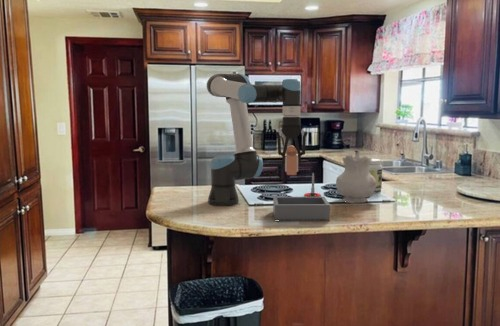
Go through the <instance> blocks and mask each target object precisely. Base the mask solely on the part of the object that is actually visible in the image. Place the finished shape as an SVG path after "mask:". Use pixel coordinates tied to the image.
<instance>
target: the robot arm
mask: <svg viewBox="0 0 500 326" xmlns="http://www.w3.org/2000/svg"><path fill="white" fill-rule="evenodd" d="M251 82H252V81H251V80H250V77H248V76H247V75H246V74H241V73H216V74H213V75H211V76H210V77H209V78H208V80H207V82H206V90H207V92H208V93H209V94H210V95H211V96H214V97H216V98H225V101H226V103H227V104H228V105H229V109H230V110H229V111H230V116H231V123H232V131H233V136H234V138H233V139H234V144H235V151H234V153H233V154H232V153H227V154H220V155H216V156H214V157H212V159H211V161H210V181H211V183H210V184H211V185H210V186H211V188H210V191H209V194H208V198H207V203H208V204H209V205H211V206H217V207H227V206H233V205H237V204H239V201H240V199H239V194H238V192H237V189H236V181H239V180H240V181H241V180H251V179H255V178H258V177H259V176H260V175H261V174H262V172H263V168H264V163H263V162H264V161H263V158H262V156H261V155H259V154H258V153H257V150H256V149H255V148H254V146H253V141H252V140H253V139H252V132H251V126H250V125H251V124H250V118H249V112H248V111H249V110H248V105H247V104H255V103H257V104H258V103H262V104H263V103H275V104H277V103H282V116H283V117H282V127H281V129H280V130H279V131H276V132H275V135H276V136H277V138H276V139H277V154H278V155H279V156H281V157H282V158H281V159H282V160H281V161H282V164H283V165H284V171H285V173H287V156H286V150H287V147H288V146H289V145H288V144H289V140H290V139H294V144H295V148H296V150H297V172H298V173H299V164H301V163H302V156H303V155H305V154H306V141H307V139H306V138H307V136H308V132H307V130H303V129H302V128H301V127H302V126H301V100H302V99H301V95H302V94H301V93H302V92H301V90H302V88H301V87H302V86H301V80H300V79H298V78H284V79H283V80H282V84H252V83H251ZM282 134H283V135H284V137H285V139H284V144H283V149H282V143H281V141H282V140H281V136H282ZM300 134H301V137H302V139H301V140H302V142H301V149H300V144H299V139H298V137H299V136H300Z"/></svg>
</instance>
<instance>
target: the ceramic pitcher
mask: <svg viewBox="0 0 500 326" xmlns="http://www.w3.org/2000/svg"><path fill="white" fill-rule="evenodd" d="M354 153H355V154H354V156H353V154H348V155H345V157H344V156H343V157H342V161H343V164H344V171H343V172H342V173H341V174H339V175H338V176H337V177H336V181H335V185H336V190H337V192H338V193H339V194H340V195H341V196H342V197H343V198H342V199H343V202H345V201H346V202H345V203H347V204H357V203H358V204H359V203H360V204H361V203H367V202H368V199H366V198H369V197H370V196H372V195H373V194H374V192H376V191H375V188H376V180H375V178H374V177H373V176H372V175H371V174H370V173H369V170H368V168H369V164H370V162H371V160H372V159H373V158H372V157H368V156H366V155H363V156H362V157H361V154H360V153H361V152H360V151H359V150H358V149H357V148H356V149H355V150H354Z"/></svg>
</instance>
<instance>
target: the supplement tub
mask: <svg viewBox="0 0 500 326" xmlns="http://www.w3.org/2000/svg"><path fill="white" fill-rule="evenodd" d="M371 159H372V160H371V162H370V164H369V168H368V170H369V173H370V174H371V175H372V176H373V177H374V178H375V180H376V188H375V191H374V192H380V191H381V190H382V182H383V181H382V180H383V166H382V164H381V163H382V160H381V159H379V158H371Z"/></svg>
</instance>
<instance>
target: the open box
mask: <svg viewBox="0 0 500 326" xmlns="http://www.w3.org/2000/svg"><path fill="white" fill-rule="evenodd" d="M272 199H273V202H272V203H273V207H272V208H273V209H272V210H273V218H275V219H274V221H275V220H279V221H278V222H330V221H331V204H330V203H329V201H328V200H327V197H325V196H320V197H306V196H273V198H272Z"/></svg>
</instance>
